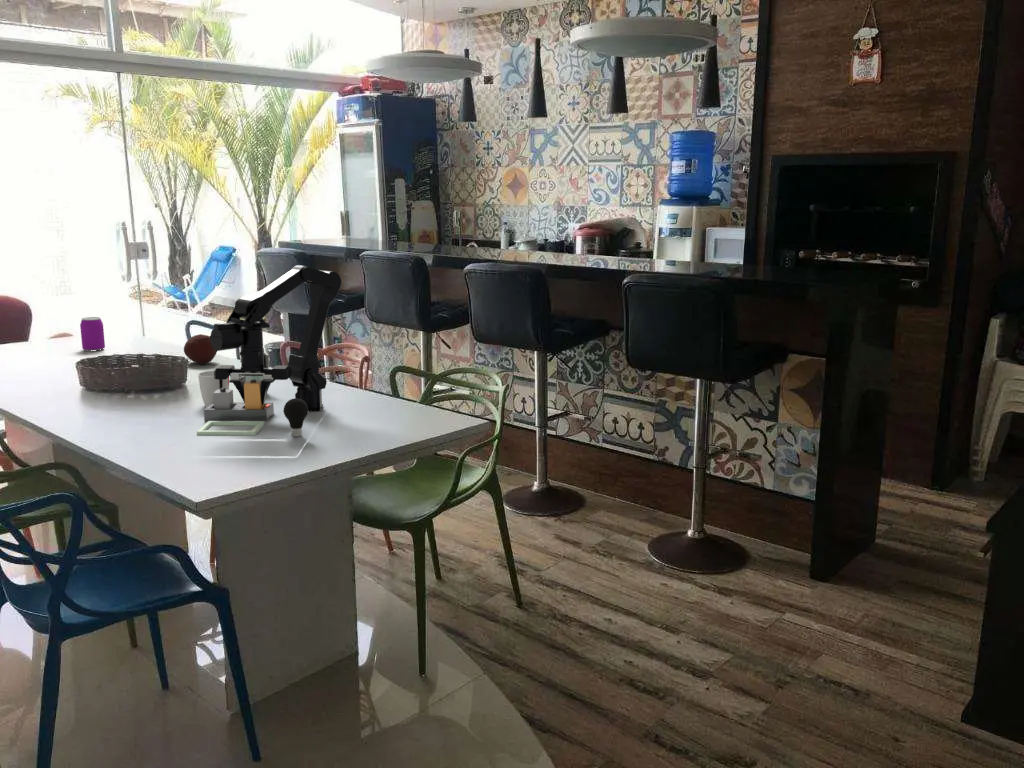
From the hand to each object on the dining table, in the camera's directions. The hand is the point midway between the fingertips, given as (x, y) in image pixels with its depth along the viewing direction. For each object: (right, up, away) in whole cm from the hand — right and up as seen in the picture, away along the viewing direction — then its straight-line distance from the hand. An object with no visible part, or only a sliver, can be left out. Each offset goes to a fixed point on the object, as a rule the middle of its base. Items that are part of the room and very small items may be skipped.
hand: (254, 404), depth 225 cm
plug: (0, -2, 0) cm, 2 cm away
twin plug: (-8, -3, 0) cm, 9 cm away
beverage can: (-89, +18, +95) cm, 131 cm away
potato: (-41, +12, +74) cm, 86 cm away
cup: (-15, -2, +13) cm, 20 cm away
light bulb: (+15, -8, -14) cm, 22 cm away
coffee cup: (-9, +2, +31) cm, 32 cm away
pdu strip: (-4, -4, +1) cm, 6 cm away
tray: (-2, -7, -11) cm, 13 cm away
